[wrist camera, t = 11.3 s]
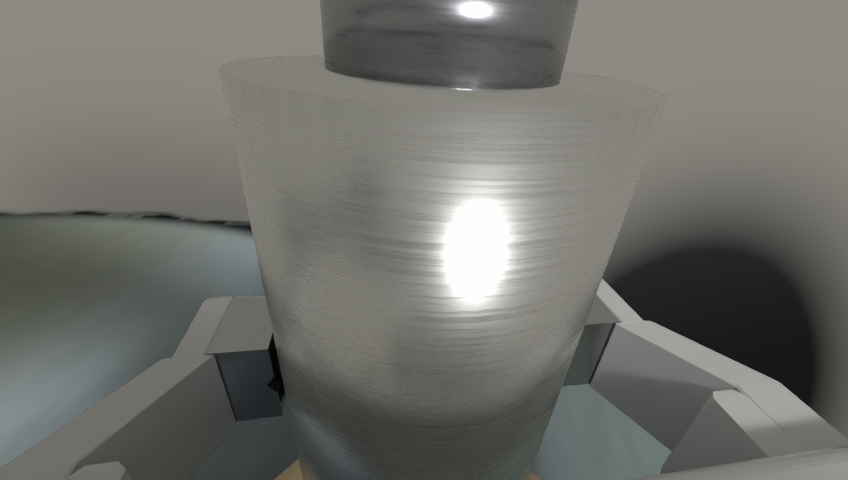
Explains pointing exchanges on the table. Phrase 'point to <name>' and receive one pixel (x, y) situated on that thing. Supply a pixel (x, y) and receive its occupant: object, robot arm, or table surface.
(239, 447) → the table surface
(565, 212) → the cylinder
